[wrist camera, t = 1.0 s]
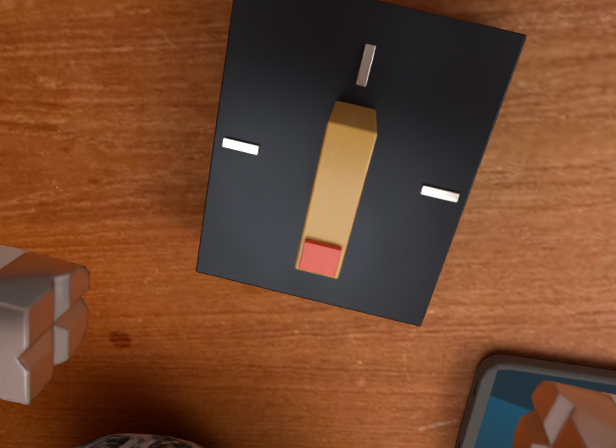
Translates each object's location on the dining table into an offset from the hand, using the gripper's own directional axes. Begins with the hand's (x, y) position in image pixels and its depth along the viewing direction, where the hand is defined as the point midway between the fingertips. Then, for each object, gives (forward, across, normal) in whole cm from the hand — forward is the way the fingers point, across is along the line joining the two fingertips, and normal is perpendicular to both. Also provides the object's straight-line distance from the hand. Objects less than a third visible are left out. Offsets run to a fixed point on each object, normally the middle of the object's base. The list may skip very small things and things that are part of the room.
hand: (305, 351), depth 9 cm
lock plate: (+14, 0, 0) cm, 14 cm away
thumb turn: (+11, 0, 0) cm, 11 cm away
